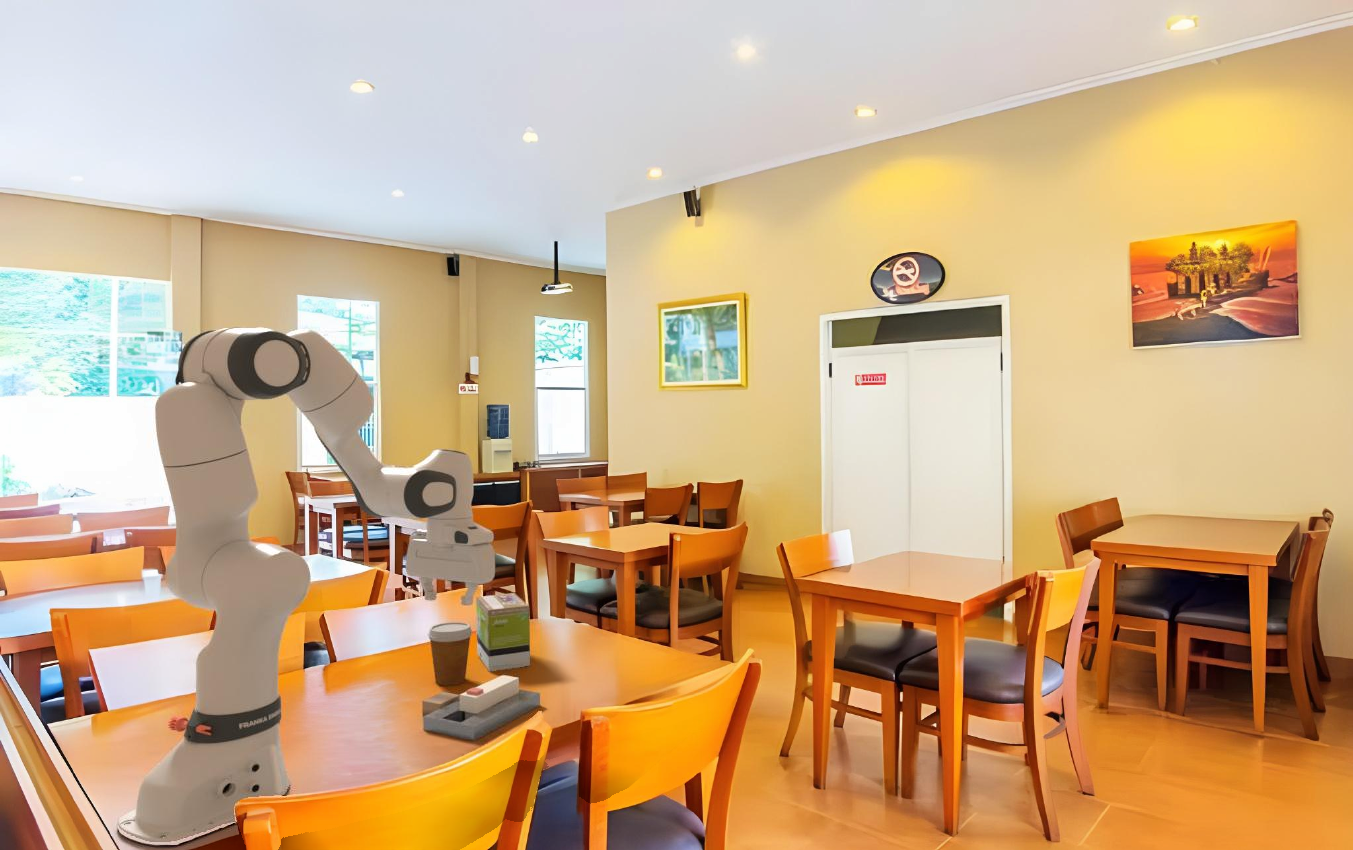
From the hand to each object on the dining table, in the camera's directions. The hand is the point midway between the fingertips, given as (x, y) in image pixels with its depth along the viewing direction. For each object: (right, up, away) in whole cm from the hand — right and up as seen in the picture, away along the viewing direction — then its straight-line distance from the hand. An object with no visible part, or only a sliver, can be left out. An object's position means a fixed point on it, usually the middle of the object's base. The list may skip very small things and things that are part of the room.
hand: (448, 602), depth 156 cm
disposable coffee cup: (-5, -22, +20) cm, 30 cm away
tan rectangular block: (-1, -22, 0) cm, 22 cm away
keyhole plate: (+7, -22, -2) cm, 23 cm away
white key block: (+8, -19, 0) cm, 21 cm away
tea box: (+3, -22, +35) cm, 41 cm away
